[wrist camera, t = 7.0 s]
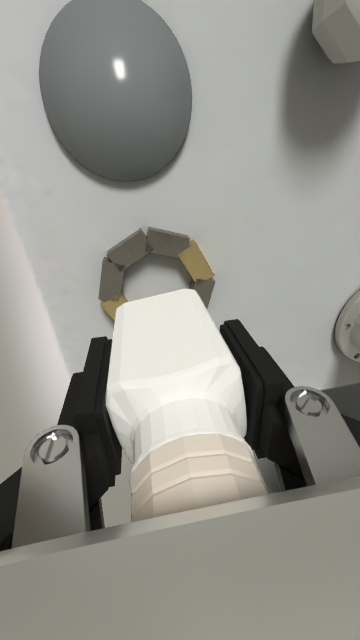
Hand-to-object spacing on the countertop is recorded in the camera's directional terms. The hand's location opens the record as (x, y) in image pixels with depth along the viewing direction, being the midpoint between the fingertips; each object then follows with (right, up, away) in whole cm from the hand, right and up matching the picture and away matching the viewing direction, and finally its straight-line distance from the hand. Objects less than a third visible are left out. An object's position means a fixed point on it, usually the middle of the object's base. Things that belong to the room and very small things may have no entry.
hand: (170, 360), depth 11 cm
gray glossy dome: (-4, +18, +9) cm, 21 cm away
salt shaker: (0, +1, +3) cm, 3 cm away
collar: (-2, +5, +17) cm, 18 cm away
